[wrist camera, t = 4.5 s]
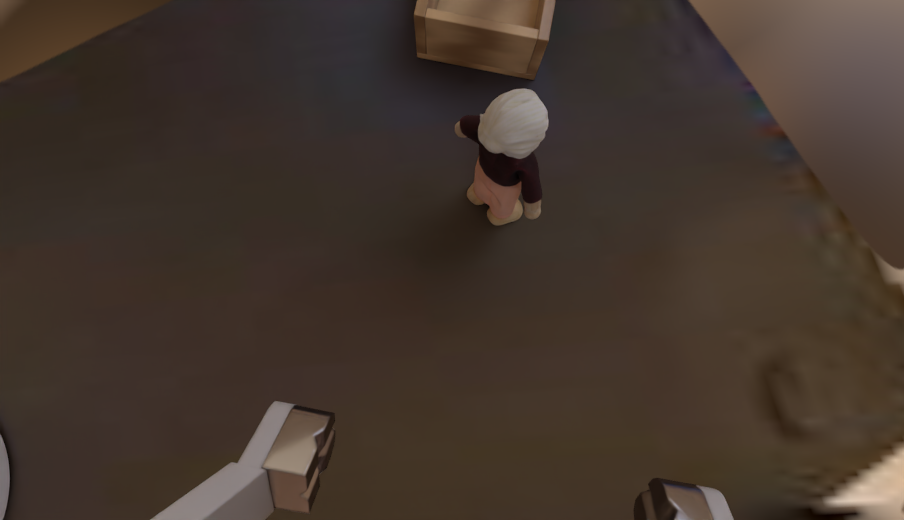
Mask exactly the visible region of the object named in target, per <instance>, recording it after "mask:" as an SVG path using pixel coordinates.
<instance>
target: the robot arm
mask: <svg viewBox="0 0 904 520" xmlns="http://www.w3.org/2000/svg"><path fill="white" fill-rule="evenodd" d="M334 422H335V413H333V412H328V411H323V410H318V409H313V408H308V407H303V406H298V405H295V404H290V403H284V402H279V401H274V403H273V404H272V405H271V406H270V407H269V408H268V410H267V412H266V414H265V415H264V417H263V419H262V421H261V422H260V424H259V426H258V428H257V429H256V431H255V433H254V435H253V437H252V438H251V440H250V442H249V444H248V445H247V447H246V449H245V451H244V452H243V454H242V456H241V458H240V459H239V461H238V463H232V462H231V463H230V464H228V465H227V466H225V467H224V468H223V469H221V470H220V471H218V472H217V473H215V474H214V475H213V476H211V477H210V478H208V479H207V480H206V481H204V482H203V483H201V484H200V485H198V486H197V487H196V488H194V489H193V490H191V491H190V492H189V493H187V494H186V495H184V496H183V497H181V498H180V499H179V500H177V501H176V502H174V503H173V504H172V505H170V506H169V507H167V508H166V509H164V510H163V511H162V512H160V513H159V514H157V515H156V516H155V517H153V518H152V519H150V520H265V519H266V518H267V517H268V516H269V515H270V514H271V513H272V512H273V511H274V508H278V509H283V510H289V511H295V512H301V513H306V514H309V513H310V510H311V508H312V505H313V503H314V500H315V497H316V495H317V492H318V490H319V487H320V479H319V474H320V473H321V472H322V471H324V470H325V469H326V468H327V466H328V463H329V460H330V458H331V454H332V451H333V447H334V442H335V430H334V429H333V428H332V427H333V425H334ZM648 485H649V489H650V490H647V491H644V492H641V493H640V494H639V496H638V497H637V498H636V500H635V506H634V520H734V519H733V517H732V514H731V512H730V510H729V507H728V505H727V502H726V500H725V498H724V496H723V495H722V493H721V492H720V491H718V490H716V489H713V488H708V487H703V486H698V485H694V484H689V483H683V482H678V481H672V480H667V479H661V478H654V479H652V480H651V481H650V482H649V483H648ZM9 487H10V470H9V461H8V455H7V451H6V447H5V444H4V441H3V439H2V436H1V434H0V520H3V518H4V515H5V511H6V507H7V502H8V496H9Z"/></svg>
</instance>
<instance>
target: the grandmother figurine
mask: <svg viewBox="0 0 904 520" xmlns="http://www.w3.org/2000/svg"><path fill="white" fill-rule="evenodd" d="M547 114H548V112H547V110H546V107H545V106H544V104H543V103H542V102H541V100H540V99H539V98H538V96H537V95H536V93H535V92H534V91H532V90H529V89H514V90H511V91H509V92H507V93H504V94H502V95H500V96H498V97H497V98H496V99H495V100H493V101H492V103H491V104H490V105H489V107H488V108H487V110H486V112H485V114H480V116H476V115H474V116H473V115H467V116H464V117H462V118H461V120H460V121H459V122H458V123H457V124H456V125H455V133H456V134H457V135H458V136H459V137H462V138H464V137H468V138H470V139H472V140H473V141H475V142H477V143H478V144H479V157H478V160H477V163H476V167H475V178H474V182H473V184H472V185H471V186H470V188H469V189H468V191H467V197H468V199H469V200H470V201H471V202H472V203H473V204H475V205H481V204H483V203H486V204H487V205H489V206H490V208H489V209H488V211H487V217H488V219H489V221H490V222H491V223H492V224H493V225H503V224H506V223H509V222H513V221H516V220H518V219H519V218H520V217H521V215H522V213H523V208H522V205H521V203H520V201H519V200H518V197H519V195H520V192H521V191H522V196H523V199H524V206H525V208H524V214H525V216H526V217H527V218H529V219H535V218H537V217H539V215H540V213H541V208H540V205H541V198H542V189H541V184H540V180H539V169H538V163H537V160H536V157H535V155H534V153H533V152H532V151H533V150H535V149H536V148H537V147H538V146H539V143H540V142H541V141H542V140H543V139H544V137H545V131H546V130H547V128H548V122H549V120H548V116H547Z"/></svg>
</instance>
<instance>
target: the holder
mask: <svg viewBox="0 0 904 520" xmlns="http://www.w3.org/2000/svg"><path fill="white" fill-rule="evenodd" d="M555 1H556V0H417V3H416V7H415V11H414V24H415V37H416V49H417V57H418V58H423V59H428V60H433V61H439V62H444V63H449V64H454V65H459V66H464V67H469V68H474V69H479V70H485V71H490V72H495V73H500V74H505V75H510V76H515V77H520V78H525V79H531V80H534V79H535V76H536V73H537V71H538V68H539V65H540V63H541V60H542V57H543V55H544V52H545V49H546V47H547V44H548V41H549V36H550V30H551V24H552V18H553V13H554V7H555Z"/></svg>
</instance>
